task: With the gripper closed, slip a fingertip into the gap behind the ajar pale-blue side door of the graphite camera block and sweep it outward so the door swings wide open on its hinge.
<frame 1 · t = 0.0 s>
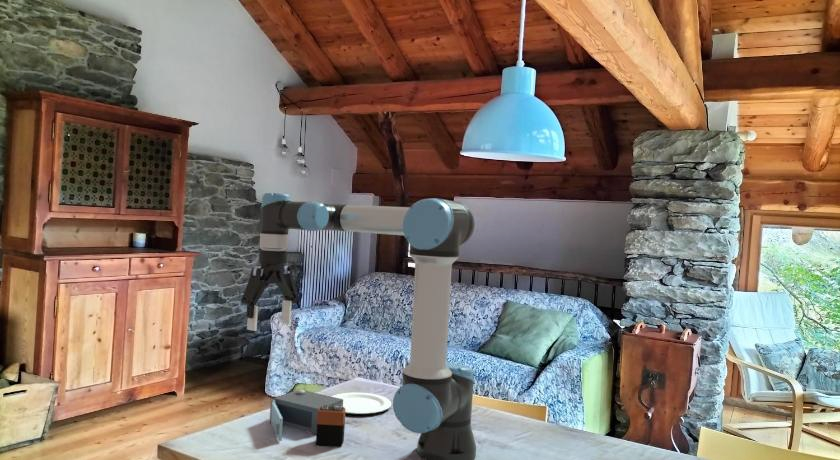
hand: (269, 326, 163), 28 cm above the table, fingers open, 13 cm apart
door: (275, 419, 160), point 4 cm above the table, hinge at 40.0°
camera body: (307, 423, 169), on the table
battery: (329, 444, 155), on the table
plate: (358, 407, 187), on the table
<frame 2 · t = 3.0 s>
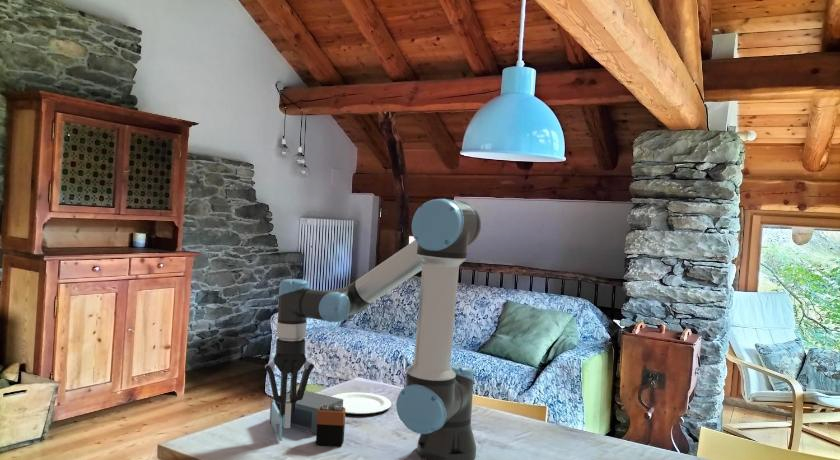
hand: (286, 426, 158), 3 cm above the table, fingers closed
door: (275, 419, 160), point 4 cm above the table, hinge at 40.0°, touching gripper
everything else where it was.
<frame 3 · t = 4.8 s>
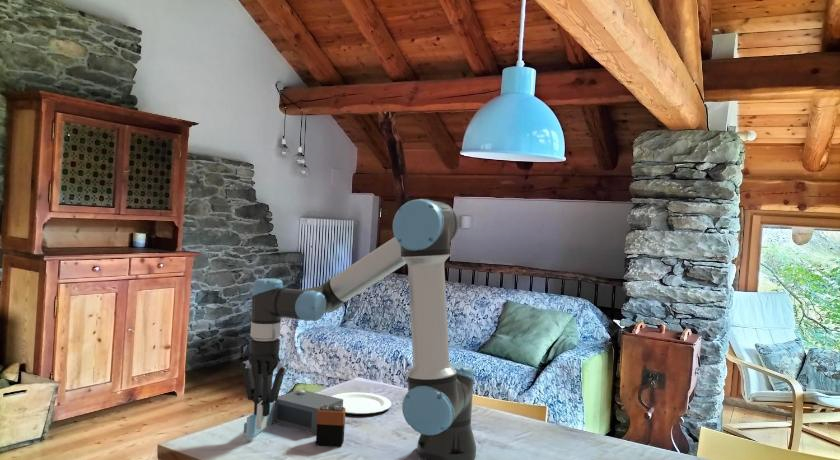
hand: (261, 427, 156), 3 cm above the table, fingers closed
door: (260, 419, 160), point 4 cm above the table, hinge at 73.8°, touching gripper
everything else where it was.
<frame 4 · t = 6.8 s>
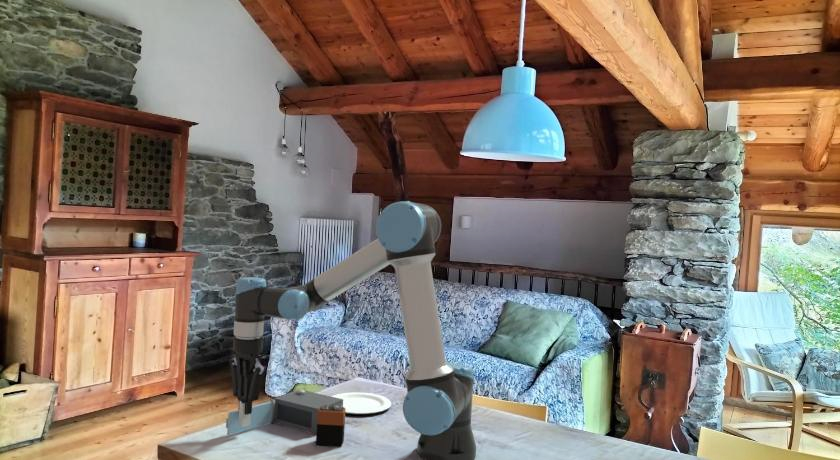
hand: (244, 425, 157), 3 cm above the table, fingers closed
door: (251, 417, 161), point 3 cm above the table, hinge at 99.3°, touching gripper
everything else where it was.
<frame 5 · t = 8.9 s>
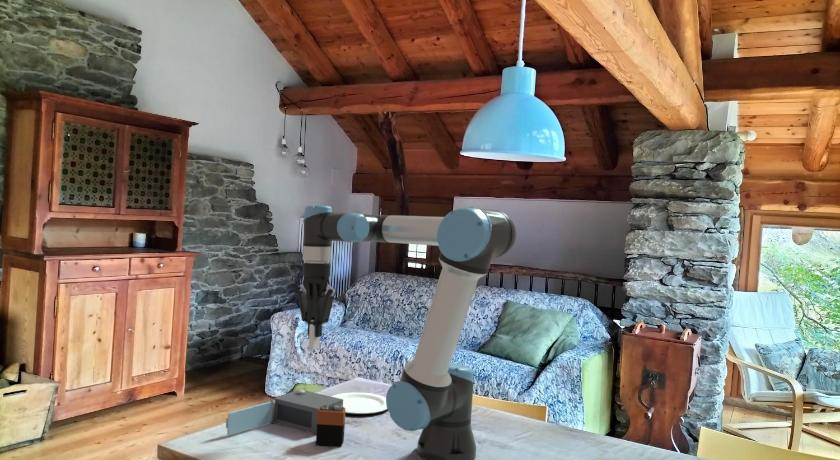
hand: (314, 348, 162), 23 cm above the table, fingers closed
door: (251, 417, 162), point 4 cm above the table, hinge at 99.3°
everything else where it was.
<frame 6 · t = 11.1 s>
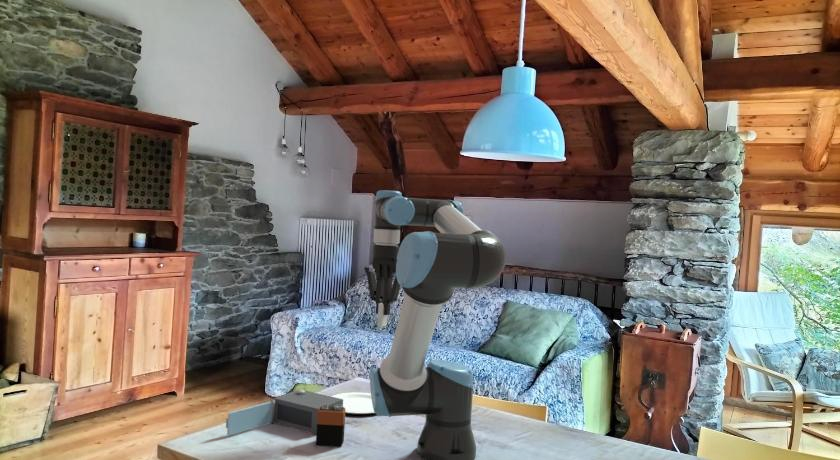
hand: (382, 325, 172), 28 cm above the table, fingers closed
nothing on the table moved.
at the end: door at +99° (first picture: +40°) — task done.
